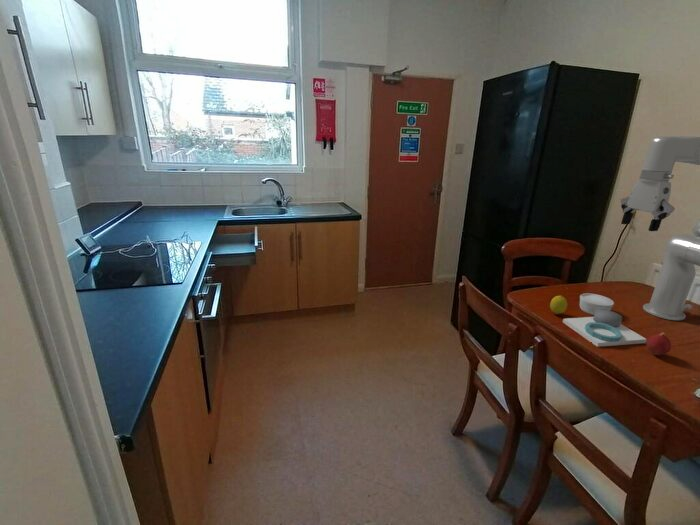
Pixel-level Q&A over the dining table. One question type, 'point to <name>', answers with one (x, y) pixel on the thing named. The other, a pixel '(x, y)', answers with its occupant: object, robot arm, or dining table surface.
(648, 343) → the pomegranate
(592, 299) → the ramekin
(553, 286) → the dining table surface
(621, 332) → the carrier plate
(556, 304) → the lemon
